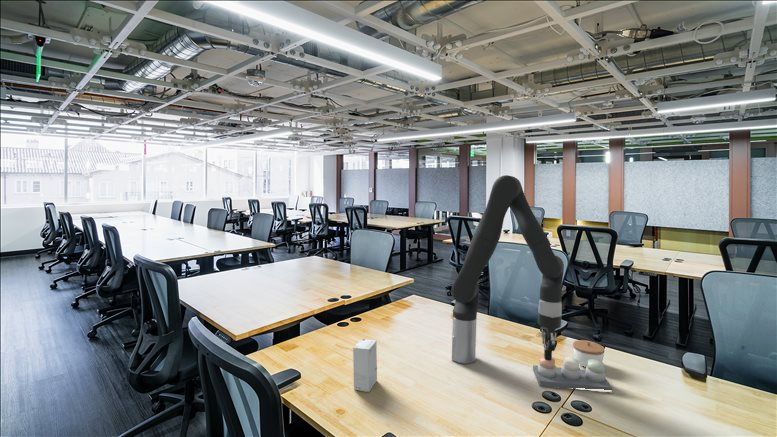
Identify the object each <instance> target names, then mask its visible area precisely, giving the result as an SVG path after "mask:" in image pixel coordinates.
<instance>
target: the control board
mask: <svg viewBox="0 0 777 437" xmlns="http://www.w3.org/2000/svg"><path fill="white" fill-rule="evenodd" d="M532 365H533V364H532ZM532 371H533V373H534V376H535V378H536V380H537V383H538V386H539V387H542V386H543V388H544V387H545V388H552V387H556V388H555V389H563V388H573V389H575V388H585V389H604V390H612V391H613V386H612V385H611V384H610V382H609V381H608V380H607V379H606V370H605V369H604V372H603V373H595V372H592V371H590V370H589V369H588V368H587V367H586V368H585V369H581V368H580V367H579V370H577V371H572V370H568V369H566V368H564V367H563V364H561V367H558V366H556V365H555V368H554V369H546V368H543V367H541V366H540V361H538V362H537V365H533V366H532ZM558 387H559V388H558ZM573 389H572V390H573Z"/></svg>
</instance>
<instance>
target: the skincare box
mask: <svg viewBox="0 0 777 437" xmlns="http://www.w3.org/2000/svg"><path fill="white" fill-rule="evenodd" d="M377 347H378V346H377V340H375V339H373V340H372V339H367V338H366V339H363V338H362V339H361V340H360V341H358V342H357V343H356V345H355V346H354V347H352V351H353V354H352V355H353V361H352V363H353V389H354V390H356V391H361V392H365V393H370V391H371V389H372V388H373V386H374V385H375V384H376V383H377V382H378V361H377V360H378V357H377V353H378V352H377V349H378V348H377Z"/></svg>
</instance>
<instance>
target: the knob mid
mask: <svg viewBox="0 0 777 437" xmlns="http://www.w3.org/2000/svg"><path fill="white" fill-rule="evenodd" d="M562 365H563V367H564V368H566V369H568V370H572V371H577V370H579V368H580V365H579V361H578V360H577V359H575V357H568V356H567V357H564V358H563V362H562Z"/></svg>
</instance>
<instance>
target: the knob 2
mask: <svg viewBox="0 0 777 437" xmlns="http://www.w3.org/2000/svg"><path fill="white" fill-rule="evenodd" d="M587 368H588V369H589V370H590V371H592V372H595V373H603V372H604V370H605V363H604V362H603V361H602V362H601V361H598V360H594V359H590V360H588V366H587Z"/></svg>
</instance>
